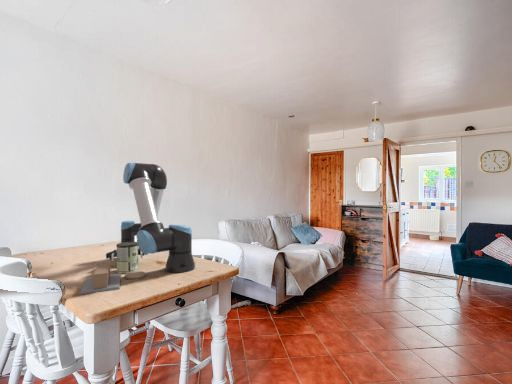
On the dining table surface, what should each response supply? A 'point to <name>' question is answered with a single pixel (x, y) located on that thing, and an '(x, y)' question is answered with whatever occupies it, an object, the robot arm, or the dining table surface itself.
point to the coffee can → (127, 257)
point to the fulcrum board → (110, 287)
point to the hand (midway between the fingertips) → (127, 257)
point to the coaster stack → (135, 275)
